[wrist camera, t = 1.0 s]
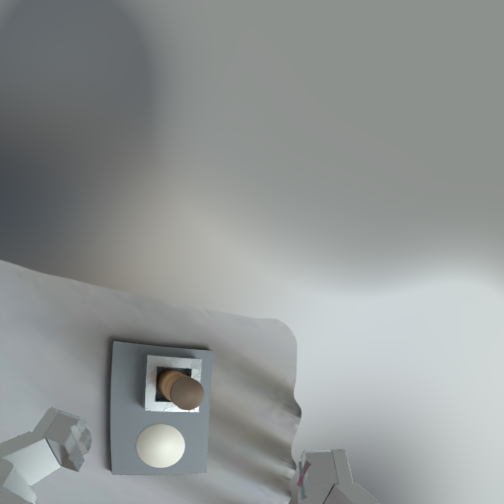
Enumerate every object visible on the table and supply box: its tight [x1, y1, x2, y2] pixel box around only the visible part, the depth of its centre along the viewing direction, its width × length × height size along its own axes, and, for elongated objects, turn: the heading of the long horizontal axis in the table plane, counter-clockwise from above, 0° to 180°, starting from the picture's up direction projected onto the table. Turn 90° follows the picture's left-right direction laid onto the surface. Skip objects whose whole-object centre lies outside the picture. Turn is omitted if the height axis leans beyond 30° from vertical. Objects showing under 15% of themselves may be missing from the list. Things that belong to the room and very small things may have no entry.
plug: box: [156, 369, 204, 410], centre depth 41 cm, size 4×4×9 cm
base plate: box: [110, 341, 213, 475], centre depth 44 cm, size 16×22×1 cm
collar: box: [142, 353, 202, 412], centre depth 44 cm, size 8×8×2 cm
